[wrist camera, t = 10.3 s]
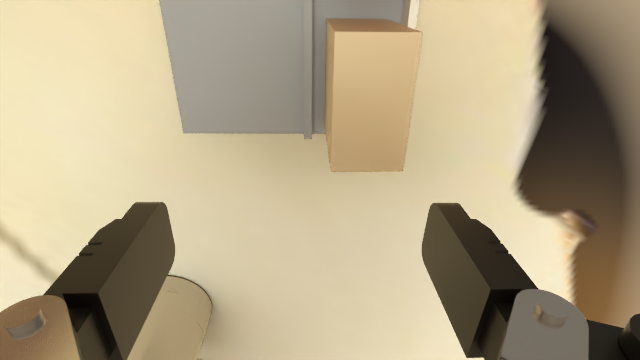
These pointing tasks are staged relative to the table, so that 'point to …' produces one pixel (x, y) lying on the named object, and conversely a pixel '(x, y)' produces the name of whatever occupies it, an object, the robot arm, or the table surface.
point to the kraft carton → (369, 92)
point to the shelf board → (259, 60)
